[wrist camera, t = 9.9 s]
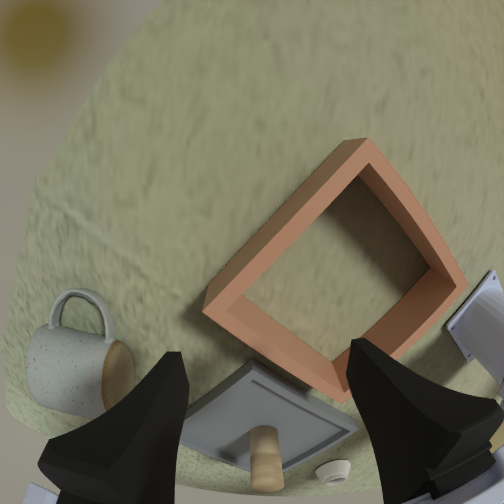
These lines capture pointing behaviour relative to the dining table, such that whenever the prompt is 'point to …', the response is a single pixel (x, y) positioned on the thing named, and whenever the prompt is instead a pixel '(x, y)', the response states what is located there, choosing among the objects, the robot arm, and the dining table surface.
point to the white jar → (333, 472)
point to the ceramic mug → (78, 364)
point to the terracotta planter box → (292, 226)
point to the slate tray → (262, 419)
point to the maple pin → (265, 460)
